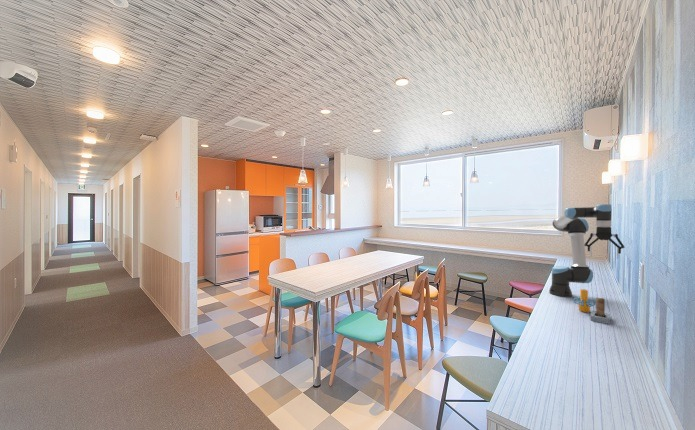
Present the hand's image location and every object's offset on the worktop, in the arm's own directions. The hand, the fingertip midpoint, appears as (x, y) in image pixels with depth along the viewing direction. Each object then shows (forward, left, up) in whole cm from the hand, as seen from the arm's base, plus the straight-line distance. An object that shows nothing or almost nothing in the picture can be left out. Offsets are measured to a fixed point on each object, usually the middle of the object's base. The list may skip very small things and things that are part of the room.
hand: (603, 257), depth 189 cm
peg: (+18, -1, -39) cm, 43 cm away
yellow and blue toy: (+5, -10, -39) cm, 40 cm away
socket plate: (+17, -1, -39) cm, 42 cm away
